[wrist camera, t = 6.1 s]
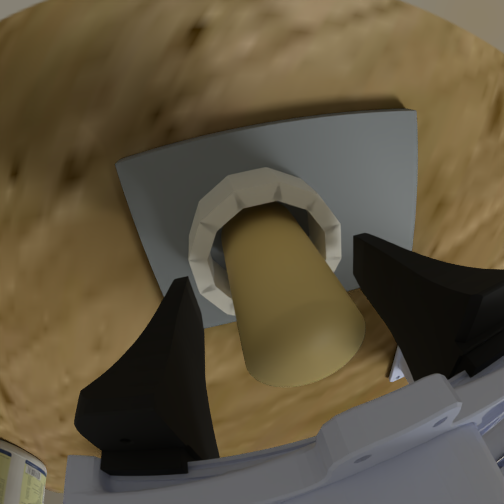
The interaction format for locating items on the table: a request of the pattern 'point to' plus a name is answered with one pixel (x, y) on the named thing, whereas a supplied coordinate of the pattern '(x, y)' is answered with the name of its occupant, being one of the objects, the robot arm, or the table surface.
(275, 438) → the table surface
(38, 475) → the supplement tub
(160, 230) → the holder
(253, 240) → the peg
